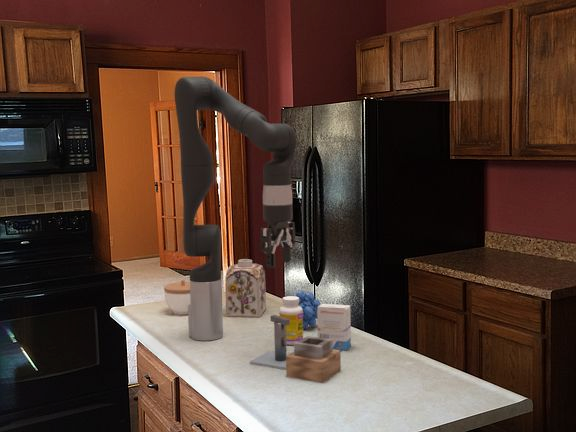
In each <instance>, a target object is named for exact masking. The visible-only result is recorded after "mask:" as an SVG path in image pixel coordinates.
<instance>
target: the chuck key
mask: <svg viewBox="0 0 576 432" xmlns="http://www.w3.org/2000/svg"><path fill="white" fill-rule="evenodd" d="M270 321H271V322H273V326H274V327H273V329H274V332H273V333H274V351H275V360H276V361H286V353H287V344H286V325H290V319H287V318H284V317H280V315H277V314H272V315H270Z"/></svg>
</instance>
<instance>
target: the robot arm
mask: <svg viewBox="0 0 576 432" xmlns="http://www.w3.org/2000/svg"><path fill="white" fill-rule="evenodd" d="M174 105H175V111H176V113H175V114H176V117H177V118H176V119H177V125H178V126H177V127H178V133H179V147H180V175H181V176H180V177H181V187H182V188H181V189H182V191H181V192H182V201H183V202H182V203H183V205H182V206H183V207H182V209H183V211H182V212H183V215H182V217H183V218H182V219H183V220H182V221H183V223H182V225H183V226H182V232H183V233H182V239H183V240H182V243H183V250H184V255H186V256H187V257H191V258H193V257H194V258H195V257H209V259H208V261H206V262H204V263H203V264H202V265H199V266H197V267H195V268H192V269H191V270H190V271H189V282H190V299H191V304H190V305H188V314H187V319H188V320H187V322H188V337H189V338H192V339H193V340H195V341H202V342H203V341H204V342H205V341H214V340H218V339H221V338H223V336H224V324H223V323H224V320H223V319H224V318H223V315H224V314H223V291H222V290H223V289H222V288H223V287H222V286H223V285H222V284H223V283H222V267H221V265H222V263H221V261H222V260H221V259H222V255H221V254H222V253H221V252H222V231H221V229H220V226H219V224H218V225H217V224H195V219H196V215H197V212H198V210H199V208H200V206H201V204H202V202H203V200H204V199H205V198H206V196H207V194H208V193H209V191H210V189H211V188H212V186H213V183H214V179H215V173H214V171H215V169H214V167H215V166H214V157H213V154H212V151H211V150H210V149H211V148H209V146H208V144H207V142H206V141H205V139H204V137H203V135H202V134H201V131H200V127H199V123H198V122H199V121H198V111H204V110H211V111H214V112H217V113H219V114H221V115H222V116H223V117H224V119H225V121H226V123H227V124H228V125H229V126H230V127H231V128H232V129H233V130H234V131H237V132H238V133H240V134H242V135H243V136H245V137H247V138H248V139H249V141H251V142H252V144H254V145H255V147H257V148H258V149H260V150H262V151H264V152H267V153H273V155H272V158H271V160H270V161H267V162H266V163H264V164H263V170H262V172H263V175H262V177H263V181H262V183H263V189H262V212H263V213H262V215H263V216H262V217H263V218H262V219H263V221H264V222H265V223H266V222H267V227H261V228H260V246H259V247H260V249H259V250H260V252H262V253H264V254H265V263H266V264H265V265H266V268H268V269H274V268H275V267H276V253H275V252H276V248H277V247H279V245H281V246H282V248H281V250H282V251H281V252H282V253H281V254H282V257H281V258H282V262H284V263H291V261H292V252H291V251H292V250H291V248H292V247H293V245H295V244H296V227H295V225H296V224H295V223H296V222H294V221H293V216H294V215H293V213H294V212H293V190H292V172H291V170H292V169H291V168H292V165H293V160H294V157H295V152H296V148H297V147H296V146H297V135H296V132H295V130H294V128H293V126H291V125H290V124H289V123H269V122H268V120H267V118H266V116H265V115H264V114H262V113H261V112H259V111H257V110H255V109H254V108H252V107H250V106H249V105H247V104H244V103H242V102H241V101H239V100H238V99H236V98H235V97H233V96H232V95H231V93H229V92H227V91H226V90H225V89H224V88H222V87H221V86H220V84H218V83H217V82H215V81H214V80H213V79H211V78H210V77H208V76H183V77H180V78H179V79H178V80H177V81H176V83H175V86H174Z"/></svg>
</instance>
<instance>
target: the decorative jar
mask: <svg viewBox="0 0 576 432" xmlns="http://www.w3.org/2000/svg"><path fill="white" fill-rule="evenodd" d="M237 261H238V262H237V263H235V264H231V265H230V266H228V267H227V270H226V273H225V276H224V277H225V279H224V280H225V314H226V315H225V316H226V317H228V318H261V316H262V315H263V314H264V312H265V311H266V309H267V296H266V294H267V292H266V290H267V289H266V273H265V272H266V270H265V268H264V267H263V265H261V264H258V263H253V260H252V259H248V258H243V259H242V258H241V259H239V260H237Z"/></svg>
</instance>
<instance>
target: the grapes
mask: <svg viewBox="0 0 576 432" xmlns="http://www.w3.org/2000/svg"><path fill="white" fill-rule="evenodd" d="M295 296H296V297H299V303H298V305H299V306H300V307H301V308H302V310H303V330H304V329H305V330H306V329H307V328H308V326H310V327H311V328H312V327H313V328H314V327H315V326H316V325H317V308H318V306H320V305H321V302H320V300H318V299H316V298H315V295H314V293H312V291H311V292H310V291H307V292H306V293H305V291H304V290H298V291H297V292H296V294H295Z"/></svg>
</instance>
